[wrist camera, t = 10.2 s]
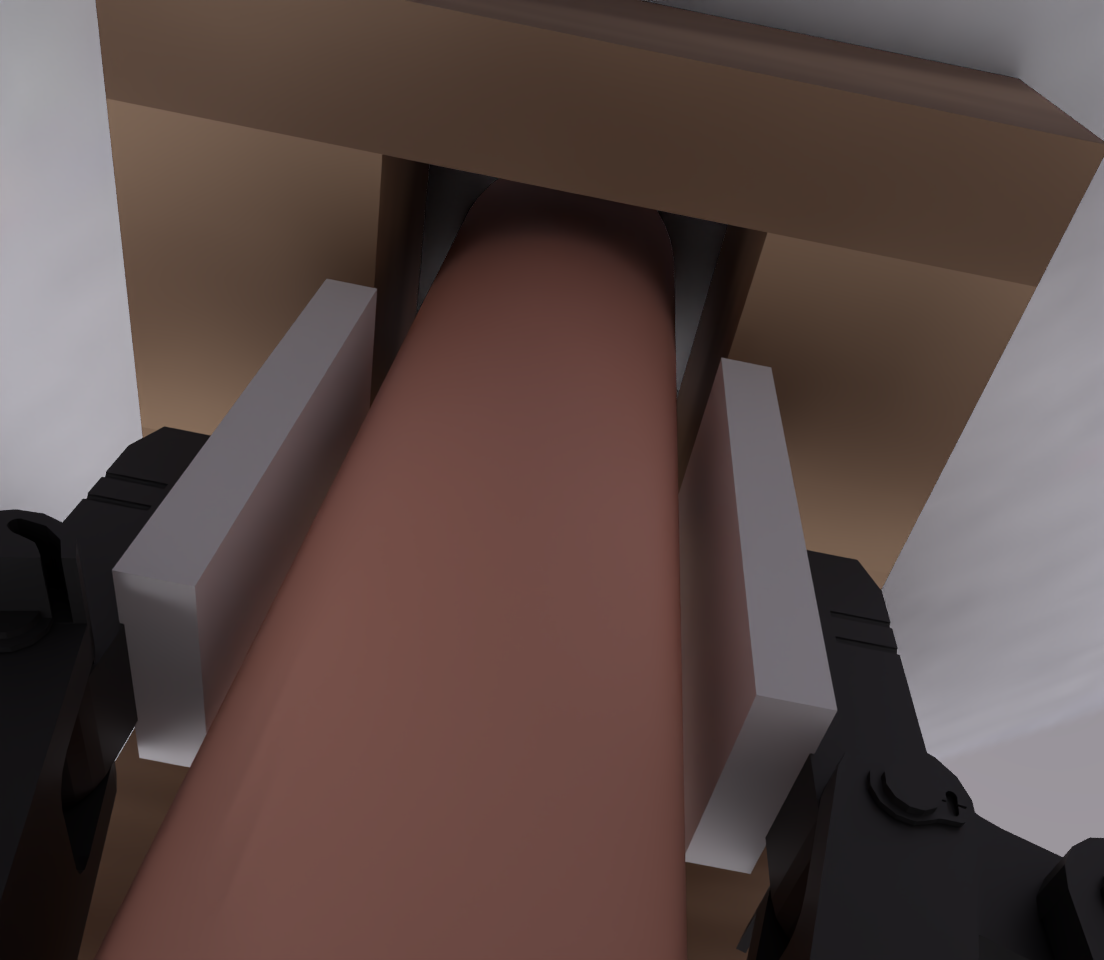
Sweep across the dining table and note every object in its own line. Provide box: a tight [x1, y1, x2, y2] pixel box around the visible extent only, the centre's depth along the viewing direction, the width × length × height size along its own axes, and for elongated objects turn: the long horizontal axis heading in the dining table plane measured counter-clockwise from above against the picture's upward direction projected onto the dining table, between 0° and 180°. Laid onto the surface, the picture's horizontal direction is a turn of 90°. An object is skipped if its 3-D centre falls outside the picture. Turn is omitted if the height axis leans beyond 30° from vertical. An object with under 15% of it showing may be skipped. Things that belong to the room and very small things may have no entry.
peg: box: [94, 178, 687, 960], centre depth 12 cm, size 4×4×16 cm
